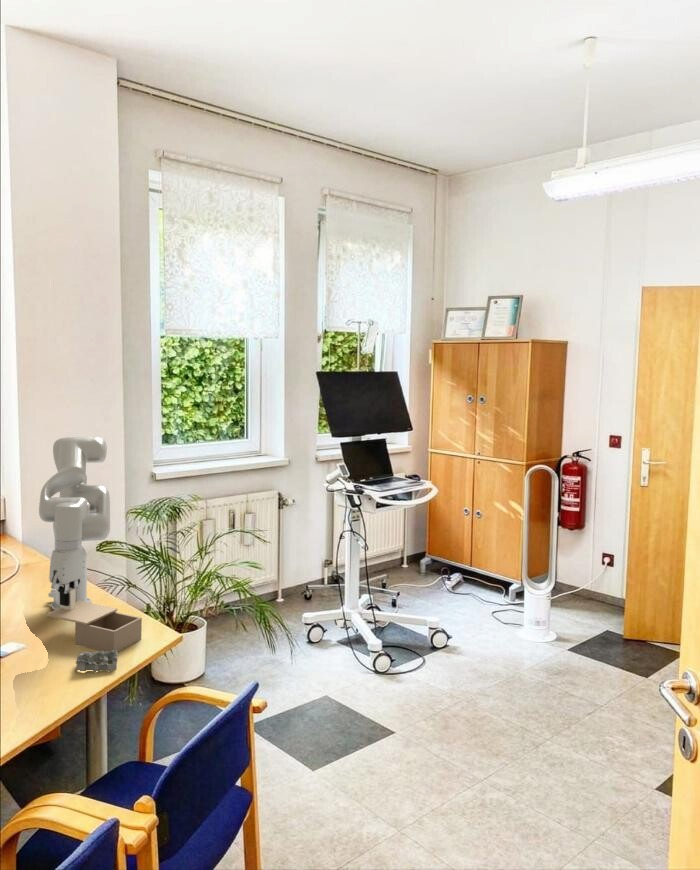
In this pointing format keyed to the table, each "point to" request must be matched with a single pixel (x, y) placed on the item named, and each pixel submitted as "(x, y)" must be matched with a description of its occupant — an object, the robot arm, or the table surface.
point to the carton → (109, 632)
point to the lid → (80, 610)
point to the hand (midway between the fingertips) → (68, 603)
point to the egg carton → (89, 658)
